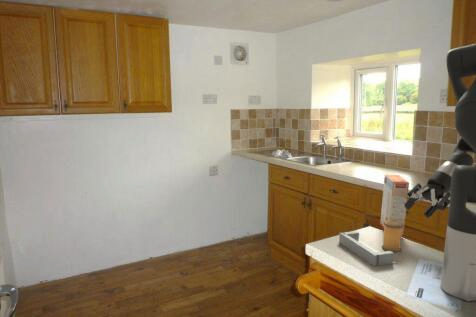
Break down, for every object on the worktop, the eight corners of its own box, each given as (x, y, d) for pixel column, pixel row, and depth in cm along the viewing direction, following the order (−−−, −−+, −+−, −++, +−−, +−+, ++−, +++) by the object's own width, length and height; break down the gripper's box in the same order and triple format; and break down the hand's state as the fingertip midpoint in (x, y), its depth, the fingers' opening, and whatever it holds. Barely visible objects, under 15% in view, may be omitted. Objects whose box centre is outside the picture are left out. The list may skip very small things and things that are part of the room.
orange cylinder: (404, 251, 114) (407, 225, 112) (389, 253, 112) (392, 227, 111) (392, 244, 119) (394, 220, 118) (377, 246, 118) (379, 221, 116)
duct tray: (396, 263, 105) (397, 252, 105) (373, 266, 103) (374, 255, 102) (358, 240, 123) (359, 230, 122) (339, 242, 120) (339, 232, 120)
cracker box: (404, 237, 126) (409, 182, 123) (387, 236, 127) (392, 181, 124) (395, 224, 140) (400, 174, 136) (379, 223, 141) (384, 173, 138)
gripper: (424, 166, 123) (394, 199, 122) (459, 174, 110) (426, 211, 108) (434, 180, 125) (405, 212, 124) (470, 189, 112) (438, 226, 110)
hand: (415, 212), depth 116 cm, fingers open, 8 cm apart
